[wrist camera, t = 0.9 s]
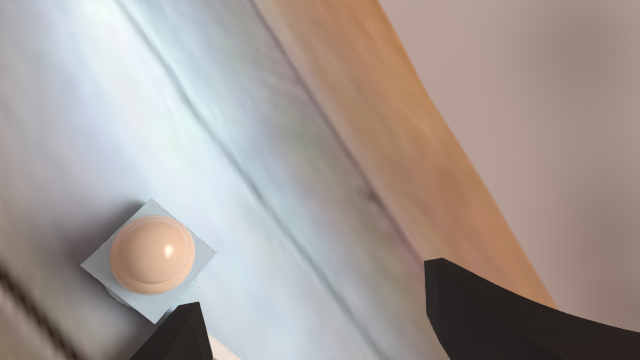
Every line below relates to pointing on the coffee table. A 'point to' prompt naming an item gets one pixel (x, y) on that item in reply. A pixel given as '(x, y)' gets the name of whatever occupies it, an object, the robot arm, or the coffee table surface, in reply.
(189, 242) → the brown egg
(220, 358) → the carton
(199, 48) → the coffee table surface
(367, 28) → the coffee table surface
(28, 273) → the coffee table surface
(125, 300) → the egg cup
